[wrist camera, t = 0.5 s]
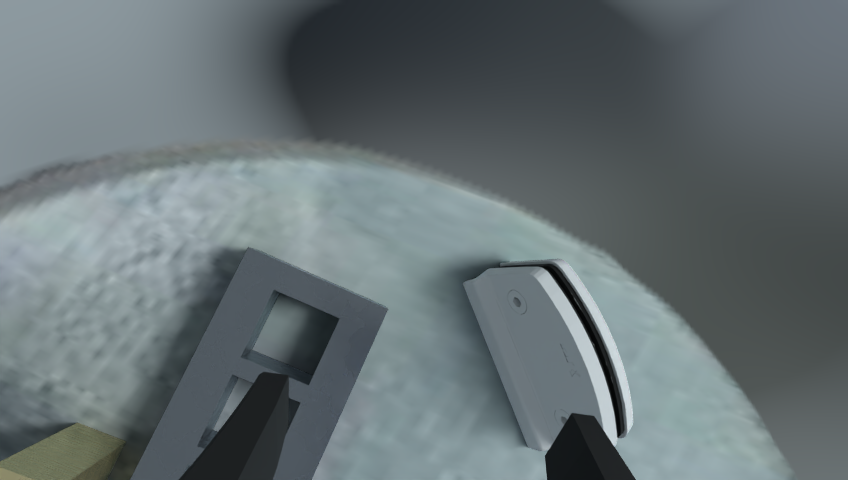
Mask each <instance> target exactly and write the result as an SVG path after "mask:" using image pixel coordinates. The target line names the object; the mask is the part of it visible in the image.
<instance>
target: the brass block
mask: <svg viewBox="0 0 848 480" xmlns="http://www.w3.org/2000/svg"><path fill="white" fill-rule="evenodd" d="M125 443H126V441H123V440H121V439H118V438H116V437H113V436H111V435H108V434H105V433H103V432H100V431H98V430H95V429H93V428H90V427H87V426H85V425H82V424H80V423H75V424H73V425H72V426H70V427H68V428H66V429H64V430H62V431H60V432H58V433H56V434H54V435H52V436H50V437H48V438H46V439H44V440H42V441H40V442H38V443H36V444H34V445H32V446H30V447H28V448H26V449H24V450H22V451H20V452H18V453H16V454H14V455H12V456H10V457H8V458H6V459H4V460H2V461H0V480H107V478H108V476H109V474H110V472H111V470H112V468H113V466H114V464H115V462H116V460H117V459H118V457H119V455H120V453H121V451H122V449H123V447H124V445H125Z"/></svg>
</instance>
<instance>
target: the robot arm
mask: <svg viewBox="0 0 848 480" xmlns="http://www.w3.org/2000/svg"><path fill="white" fill-rule="evenodd" d="M288 422H289V375H285V374H277V373H270V372H262V373H261V374H259V375H258V377H257V379H256V380H255V382H254V383H253V385H252V386H251V388H250V389H249V391H248V392H247V394H246V395H245V397H244V398H243V399H242V401H241V402H240V404H239V405H238V406H237V408H236V409H235V411H234V412H233V413H232V415H231V416H230V417H229V419H228V420H227V421H226V423H225V424H224V425H223V427H222V428H221V429H220V430H219V432H218V433H217V434H216V435H215V437H214V438H213V439H212V440H211V442H210V443H209V444H208V445H207V447H206V448H205V449H204V450H203V452H202V453H201V454H200V455H199V457H198V458H197V459H196V460H195V461H194V463H193V464H192V465H191V466H190V467H189V468H188V469H187V471H186V472H185V473H184V474H183V475H182V476H181V477H180V479H179V480H273V477H274V475H275V472H276V469H277V466H278V462H279V458H280V455H281V451H282V447H283V443H284V439H285V436H286V432H287V428H288ZM545 461H546V472H547V480H636V479H635V478H634V476H633V475H632V473H631V472H630V470H629V469H628V467H627V465H626V464H625V462H624V461H623V459H622V458H621V456H620V455H619V453H618V452H617V450H616V449H615V447H614V445H613V444H612V442H611V441H610V439H609V438H608V436H607V435H606V433H605V432H604V430H603V428H602V427H601V425H600V424H599V422H598V421H597V419H596V418H595V416H592V415H584V414H577V413H571V415H570V416H569V418H568V419H567V421H566V423H565V424H564V426H563V428H562V429H561V431H560V432H559V434H558V436H557V437H556V439H555V441H554V442H553V444H552V445H551V447H550V449H549V450H548V452H547V454H546V455H545Z"/></svg>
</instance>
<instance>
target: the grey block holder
mask: <svg viewBox="0 0 848 480" xmlns="http://www.w3.org/2000/svg"><path fill="white" fill-rule="evenodd" d="M279 293H283V294H285V295H287V296H289V297H292V298H294V299H296V300H299V301H301V302H303V303H305V304H308V305H310V306H312V307H315V308H317V309H319V310H322V311H324V312H326V313H328V314H331V315H333V316H335V317H338V318H340V319H339V321H338V323H337V326H336V328H335V330H334V332H333V334H332V336H331V338H330V341H329V343H328V345H327V347H326V349H325V351H324V354H323V356H322V358H321V360H320V362H319V364H318V367H317V369H316V371H315V373H314V375H311V374H308V373H306V372H303V371H301V370H299V369H296V368H294V367H291V366H289V365H287V364H284V363H282V362H280V361H277V360H275V359H272V358H270V357H268V356H265V355H263V354H260V353H258V352H256V351H253V350H252V349H253V346H254V344H255V342H256V340H257V338H258V336H259V334H260V332H261V330H262V328H263V326H264V324H265V322H266V320H267V318H268V316H269V314H270V312H271V310H272V308H273V306H274V304H275V301H276V299H277V297H278V295H279ZM387 310H388V308H387V307H386V306H383V305H381V304H379V303H377V302H374V301H372V300H370V299H368V298H365V297H363V296H361V295H359V294H356V293H354V292H352V291H350V290H347V289H345V288H343V287H341V286H338V285H336V284H334V283H332V282H329V281H327V280H325V279H323V278H320V277H318V276H316V275H314V274H311V273H309V272H307V271H305V270H302V269H300V268H298V267H295V266H293V265H291V264H289V263H286V262H284V261H282V260H280V259H277V258H275V257H273V256H271V255H268V254H266V253H264V252H262V251H259V250H256V249H253V248H249V247H248V249H247V251H246V252H245V254H244V256H243V258H242V260H241V262H240V264H239V266H238V268H237V270H236V272H235V274H234V276H233V278H232V280H231V282H230V284H229V286H228V288H227V290H226V292H225V294H224V296H223V298H222V300H221V302H220V304H219V306H218V308H217V310H216V312H215V314H214V316H213V317H212V319H211V321H210V323H209V325H208V327H207V329H206V331H205V333H204V335H203V337H202V339H201V341H200V343H199V345H198V347H197V349H196V351H195V353H194V355H193V357H192V359H191V361H190V363H189V365H188V367H187V369H186V371H185V373H184V375H183V377H182V379H181V381H180V382H179V384H178V386H177V388H176V390H175V392H174V394H173V396H172V398H171V400H170V402H169V404H168V406H167V408H166V410H165V412H164V414H163V416H162V418H161V420H160V422H159V424H158V426H157V428H156V430H155V432H154V434H153V436H152V438H151V440H150V442H149V444H148V445H147V447H146V449H145V451H144V453H143V455H142V457H141V459H140V461H139V463H138V465H137V467H136V469H135V471H134V473H133V475H132V477H131V479H130V480H179V479H180V477H181V476H182V475H183V474H184V473H185V472H186V471H187V469H188V468H189V467H190V466H191V465H192V464H193V463H194V461H195V460H196V459H197V458H198V457H199V455H200V454H201V453H202V452H203V450H204V449H205V448H206V447H207V445H208V444H209V443H210V442H211V440H212V439H213V438H214V437H215V435H216V434H217V433H218V432H216V431H214V430H213V428H214V426H215V424H216V422H217V420H218V418H219V416H220V414H221V412H222V410H223V408H224V406H225V404H226V402H227V400H228V398H229V396H230V394H231V391H232V389H233V387H234V385H235V383H236V381H237V379H238V377H239V378H242V379H244V380H247V381H249V382H252V383H254V382H255V380H256V379H257V377H258V375H259V374H261V373H262V372H270V373H277V374H285V375H289V398H290V399H293V400H295V401H298V402H300V405H299V407H298V410H297V412H296V414H295V416H294V418H293V420H292V423H291V425H290V427H289V429H288V431H287V433H286V436H285V439H284V443H283V447H282V451H281V455H280V458H279V462H278V466H277V469H276V472H275V475H274V477H273V480H312V477H313V475H314V473H315V471H316V469H317V466H318V464H319V462H320V460H321V457H322V455H323V453H324V451H325V448H326V446H327V444H328V442H329V440H330V437H331V435H332V433H333V431H334V428H335V426H336V424H337V422H338V419H339V417H340V415H341V413H342V411H343V408H344V406H345V404H346V402H347V399H348V397H349V395H350V393H351V390H352V388H353V386H354V384H355V382H356V379H357V377H358V375H359V373H360V370H361V368H362V366H363V364H364V362H365V359H366V357H367V355H368V353H369V350H370V348H371V346H372V344H373V341H374V339H375V337H376V335H377V333H378V330H379V328H380V326H381V324H382V321H383V319H384V317H385V315H386V312H387Z"/></svg>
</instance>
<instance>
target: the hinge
mask: <svg viewBox="0 0 848 480" xmlns="http://www.w3.org/2000/svg"><path fill="white" fill-rule="evenodd" d="M499 264H500V267H499V268H489V269H487V270H486V271H485V272H483V273H482V274H481V275H479V276H478V277H477V278H475V279H471V280H467V281H465V282H464V283H463V286H464V288H465V291H466V293H467V296H468V298H469V301H470V303H471V306H472V308H473V311H474V313H475V316H476V318H477V321H478V323H479V326H480V328H481V331H482V333H483V336H484V338H485V341H486V343H487V346H488V348H489V351H490V353H491V356H492V358H493V361H494V363H495V366H496V368H497V371H498V373H499V376H500V378H501V381H502V383H503V386H504V388H505V391H506V394H507V396H508V399H509V401H510V404H511V406H512V409H513V411H514V414H515V416H516V419H517V421H518V424H519V426H520V429H521V431H522V434H523V436H524V439H525V441H526V444H527V446H528V448H532V449H535V450H538V451H545V450H549V449H550V447H551V445H552V444H553V442H554V441H555V439H556V437H557V436H558V434H559V432H560V431H561V429H562V428H563V426H564V424H565V423H566V421H567V419H568V418H569V416H570V415H571V413H577V414H584V415H592V416H595V418H596V419H597V421H598V422H599V424H600V425H601V427H602V428H603V430H604V432H605V433H606V435H607V436H608V438H609V439H610V441H611V442H612V444H613V445H614V446H615V445H616V444H617V438H624V437H626V435H627V434H628V432H629V430H630V428H631V427H632V425H633V410H632V403H631V396H630V391H629V386H628V382H627V378H626V374H625V370H624V367H623V364H622V361H621V358H620V355H619V352H618V350H617V347H616V344H615V342H614V340H613V337H612V335H611V333H610V331H609V328H608V326H607V324H606V322H605V320H604V318H603V316H602V314H601V313H600V311H599V309H598V307H597V305H596V303H595V302H594V300H593V298H592V297H591V295H590V294H589V292H588V290H587V289H586V287H585V286H584V284H583V283H582V281H581V280H580V279H579V277H578V276H577V274H576V273H575V272H574V270H573V269H572V268H571V267H570V265H569V264H568V263H567V262H566V261H564V260H562V259H548V260H531V261H514V262H505V263H499Z"/></svg>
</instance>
